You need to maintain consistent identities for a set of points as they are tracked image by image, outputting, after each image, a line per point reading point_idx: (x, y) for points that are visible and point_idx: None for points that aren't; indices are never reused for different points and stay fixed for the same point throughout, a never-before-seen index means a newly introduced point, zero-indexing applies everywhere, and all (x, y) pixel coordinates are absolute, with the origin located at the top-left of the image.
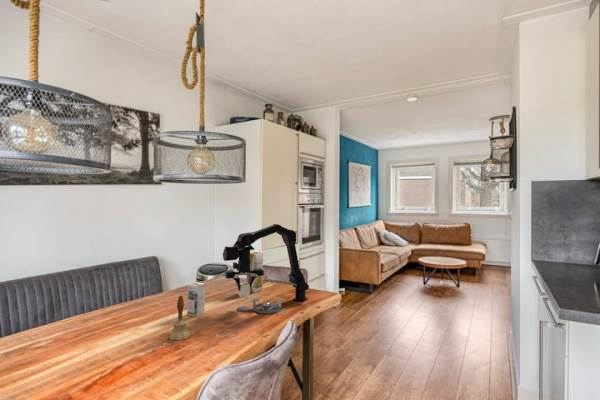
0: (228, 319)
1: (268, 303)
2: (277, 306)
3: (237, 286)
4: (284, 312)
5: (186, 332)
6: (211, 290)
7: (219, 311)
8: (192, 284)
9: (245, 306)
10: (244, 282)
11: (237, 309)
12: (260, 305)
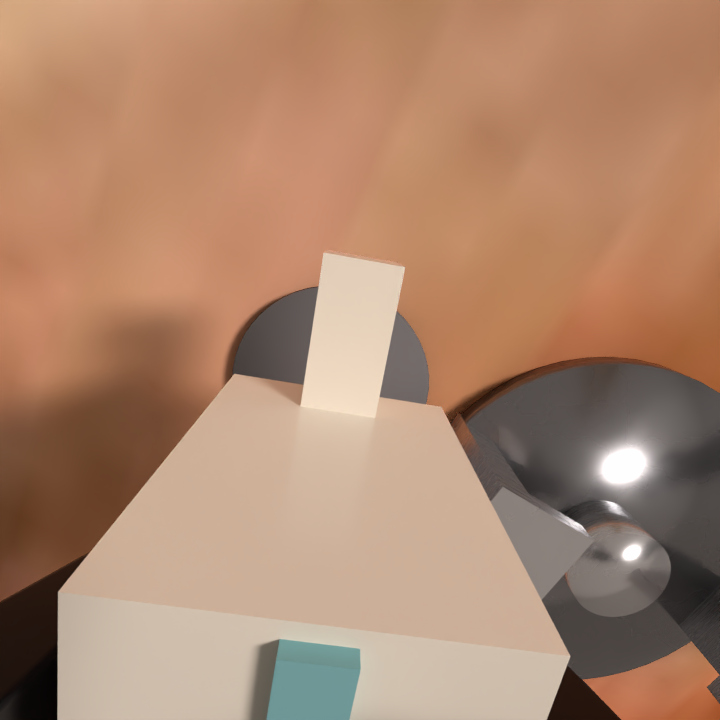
0: (51, 569)
1: (626, 596)
2: (705, 582)
3: (34, 605)
4: (656, 685)
5: None
6: None
7: (5, 268)
8: None
9: (395, 319)
10: (415, 636)
11: (245, 368)
12: (565, 444)
